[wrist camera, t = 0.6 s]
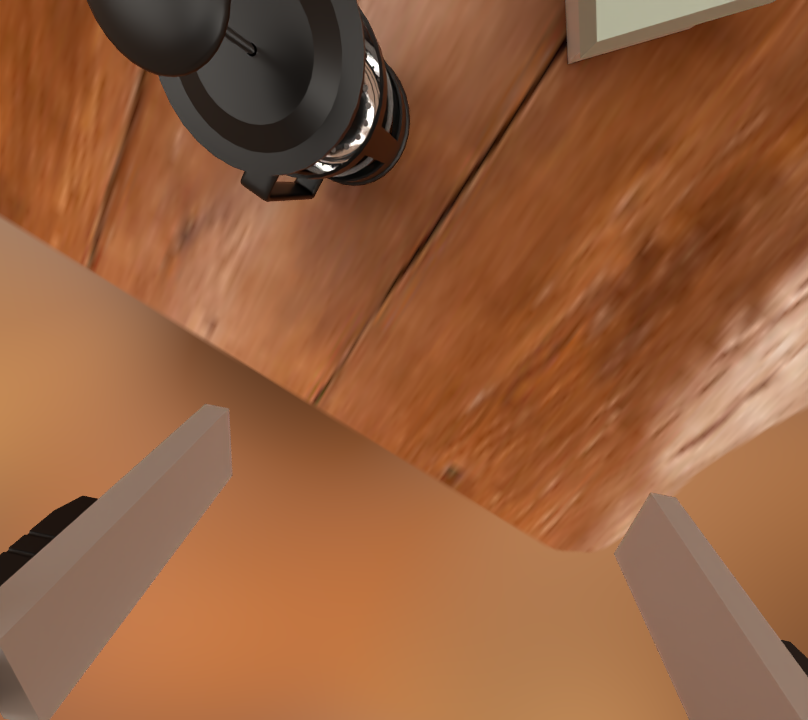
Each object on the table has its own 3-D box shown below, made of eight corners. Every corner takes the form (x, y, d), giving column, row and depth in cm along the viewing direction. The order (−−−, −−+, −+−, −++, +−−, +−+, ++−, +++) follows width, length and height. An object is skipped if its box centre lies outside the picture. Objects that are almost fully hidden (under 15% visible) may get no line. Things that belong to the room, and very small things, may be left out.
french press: (336, 8, 28) (-12, -553, 7) (438, 93, 29) (413, -153, 8) (268, 158, 32) (-62, 99, 11) (359, 225, 34) (215, 281, 13)
